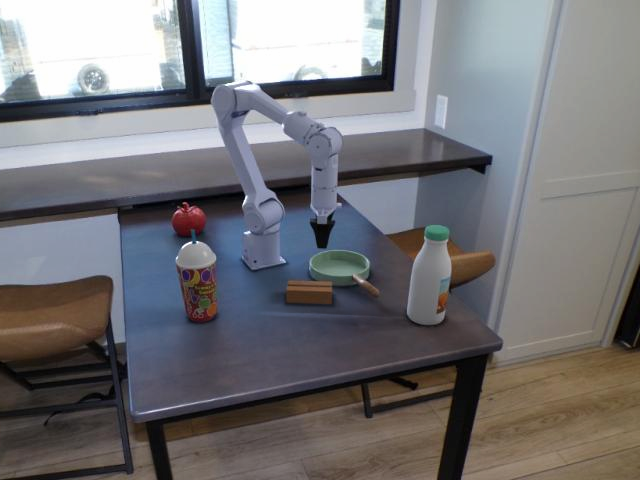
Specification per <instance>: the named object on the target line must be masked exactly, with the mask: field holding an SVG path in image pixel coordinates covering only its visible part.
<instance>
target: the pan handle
mask: <svg viewBox="0 0 640 480" xmlns="http://www.w3.org/2000/svg"><path fill="white" fill-rule="evenodd" d="M352 279H353V281H355V282H356V283H357V284H356V285H358V286H359V287H361V288H362V289H363V290H364V291H365V292H366V293H368V294H369V295H370V296H372V298H375V299H377V298H379V297H380V295H381V291H380V290H379V289H378V288H376V287H375V286H374V285H372V284H371V282H369V281H367V279H363V278H362V277H361V276H360V275H358V274H354V275H353V276H352Z"/></svg>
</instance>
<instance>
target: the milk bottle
mask: <svg viewBox="0 0 640 480" xmlns="http://www.w3.org/2000/svg"><path fill="white" fill-rule="evenodd" d="M450 234H451V233H450V228H448V227H446V226H444V225H440V224H439V225H438V224H432V225H428V226H426V227H425V229H424V237H423V239H424V243H423V245H422V247H421V249H420V250H419V252H418V253H417V255H416V257H415V259H414V261H413V264H412V269H411V274H410V283H409V289H408V290H409V291H408V298H407V307H406V314H407V316H408V319H409V320H411V321H412V322H414V323H415V324H417V325H418V324H419V325H423V326H435V325H438V324H440V323H442V322H443V320H444V319H445V316H446V309H447V304H448V299H449V298H448V297H449V293H450V292H449V291H450V284H451V279H452V278H451V277H452V260H451V257H450V254H449V251H448V246H447V244H448V242H449V238H450Z"/></svg>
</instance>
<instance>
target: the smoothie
mask: <svg viewBox="0 0 640 480" xmlns="http://www.w3.org/2000/svg"><path fill="white" fill-rule="evenodd" d="M191 234H192V236H191V241H189V242H187V243H185V244H184V245H183V246H182V247H181V248H180V249H179V251H178V253H177V256H176V257H175V261H174V262H175V265H176V271H177V275H178V280H179V285H180V291H181V295H182V299H183V305H184V310H185V314H186V315H187V316H188V318H189V319H190V320H191V321H193V322H197V323H205V322H208V321H211V320H212V319H214V318H215V316H216V313H217V311H218V286H217V284H218V283H217V282H218V281H217V255H216V254H215V253H214V251H213V250H212V248H211V247H210V246H209V245H208V244H206V243H205V242H202V241H197V240H196V234H195V232H194V229H192V230H191Z"/></svg>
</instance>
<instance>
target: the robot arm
mask: <svg viewBox="0 0 640 480" xmlns="http://www.w3.org/2000/svg"><path fill="white" fill-rule="evenodd" d="M210 104H211V107H212V110H213V111H214V114H215V119H216V128H217V130H218V132H219V134H220V138H221V140H222V143H223V145H224V147H225V150H226V152H227V155H228V157H229V159H230V161H231V165H232V166H233V169H234V171H235V174H236V176H237V178H238V181H239V183H240V186H241V188H242V191H243V193H244V196H245V197H244V200H243V203H242V206H241V209H242V211H243V219H244V224H245V226H246V228H247V229H248V231H245V232H243V233H242V234H241V250H242V256H241V259H242V261H243V262H244V263H245V264H246V265H247V266H248V267H249V269H250V270H252V271H256V270H260V269H262V268H267V267H268V268H269V267H272V266H277V265H281V264H286V263H287V261H286V260H285V258H283V257H282V256H281V234H280V233H281V231H280V227H281V222H282V221H283V220H284V218H285V215H286V210H285V207H284V205H283V202H281V201H280V200H279V198H278V196H277V194H276V192H274V191H273V190H271V189H269V188H268V187H267V186H266V184H265V181H264V178H263V176H262V174H261V171H260V169H259V166H258V163H257V160H256V158H255V156H254V154H253V150H252V149H251V146H250V144H249V141H248V138H247V136H246V134H245V131H244V128H243V125H244V122H245V120H246V117H247V116H248V115H249V113H250V112H251V111H255V112H257V113H259V114H261V115H262V116H264V117H266V118H268V119H270V120H271V121H273V122H275V123H277V124H278V125H281V127H282V131H283V133H284V134H285V135H286V136H287V137H289V138H290V139H292V140H294V141H295V142H296V143H298V144H299V145H301V146H303V147H304V148H306V152H307V153H308V156H309V157H310V165H311V193H310V194H311V198H310V199H311V201H310V205H309V206H310V207H309V208H310V209H311V210H312V212H313V213H314V215H315V217H314V218H309V225H310V227H311V229H312V230H313V234H314V238H315V245H316V248H317V249H318V250H319V249H321V250H322V249H324V250H327V248H328V245H329V240H330V235H331V232H332V230H333V228H334V227H335V225H336V220H335V219H334V220H333V217H334V214H335V212H336V210H340V209H342V204H343V203H341V202H337V198H338V176H339V175H338V174H339V152H341V151H342V149H343V146H344V137H343V134H342V133H341V132H340V131H339V129H337V127H335V126H325V124H324V123H323V122H318V121H316V120H315V119H313V118H311V117H310V116H308V112H307V111H305V110H304V109H301V110H298V109H295V110H293V111H290V110H289V109H288V108H286V107H285V106H283V105H282V104H281V103H279V102H278V101H277V100H275V99H274V98H272V97H271V96H270V95H268V94H267V93H266V92H264V91H263V90H262V89H261V86H260V85H259V84H256V83H254V82H252V81H251V80H249V79H246V78H245V79H241V80H240V81H233V82H230V83H226V84H225V83H221V84H219V85H217V86H216V87H215V88H214V90H213V92H212V96H211V98H210Z"/></svg>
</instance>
